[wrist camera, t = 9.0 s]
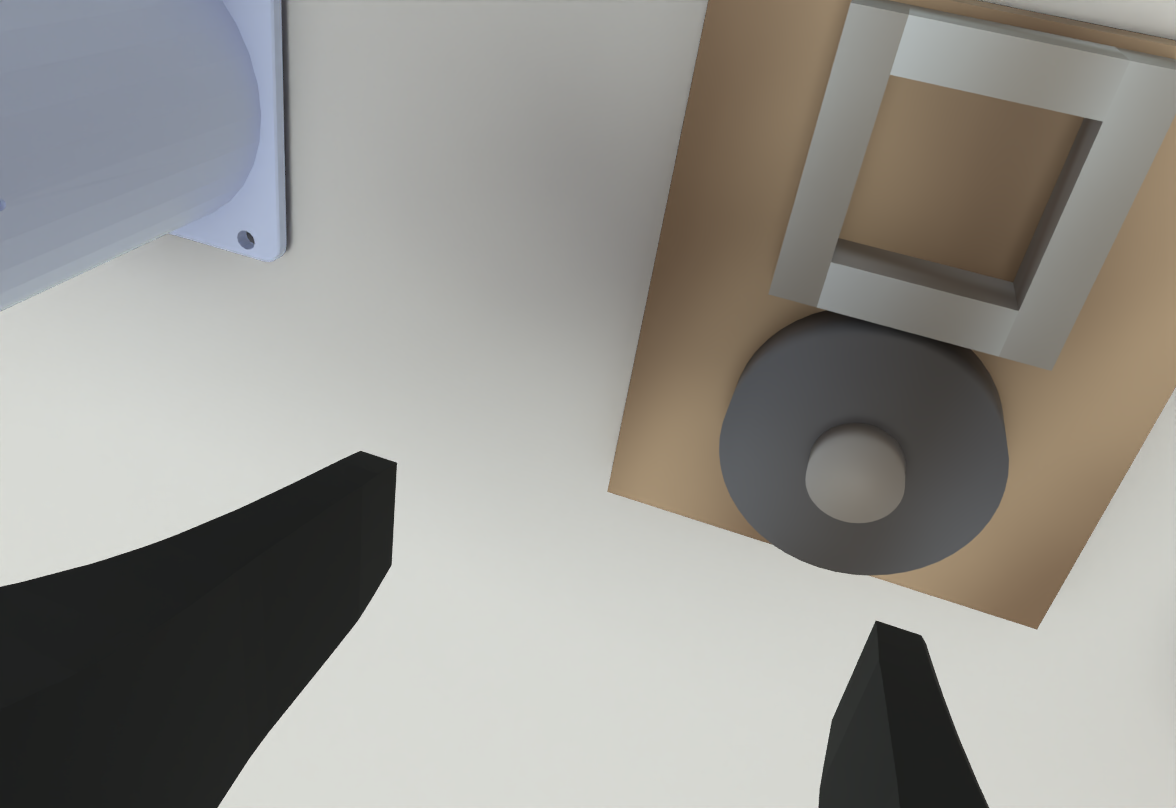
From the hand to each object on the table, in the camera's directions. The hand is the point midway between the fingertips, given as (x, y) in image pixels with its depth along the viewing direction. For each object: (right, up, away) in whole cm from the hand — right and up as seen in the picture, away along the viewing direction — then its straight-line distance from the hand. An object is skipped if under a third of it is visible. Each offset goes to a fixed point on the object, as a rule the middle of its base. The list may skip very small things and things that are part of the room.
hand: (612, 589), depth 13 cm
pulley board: (+7, +5, +7) cm, 11 cm away
